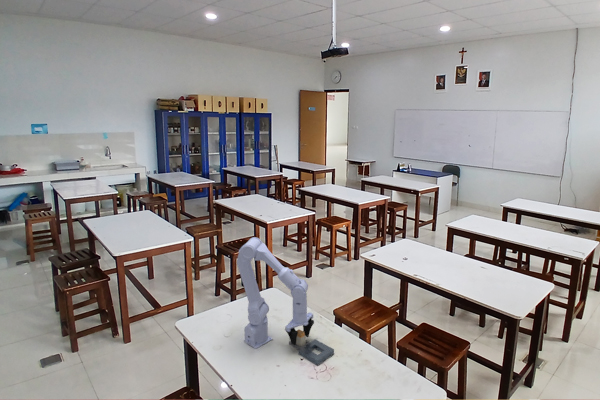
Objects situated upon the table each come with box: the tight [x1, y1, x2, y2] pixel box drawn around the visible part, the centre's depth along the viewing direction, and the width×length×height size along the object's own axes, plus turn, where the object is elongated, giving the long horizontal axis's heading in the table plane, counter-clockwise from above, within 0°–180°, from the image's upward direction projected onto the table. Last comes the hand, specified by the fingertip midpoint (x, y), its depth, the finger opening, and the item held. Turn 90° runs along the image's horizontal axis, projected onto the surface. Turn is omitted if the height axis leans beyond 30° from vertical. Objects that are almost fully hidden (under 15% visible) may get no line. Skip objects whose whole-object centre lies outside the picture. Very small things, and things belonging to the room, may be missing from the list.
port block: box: [297, 339, 335, 366], centre depth 152 cm, size 10×10×2 cm
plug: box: [296, 329, 307, 347], centre depth 158 cm, size 3×4×6 cm
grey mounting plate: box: [288, 339, 311, 351], centre depth 158 cm, size 6×7×1 cm
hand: (299, 339), depth 158 cm, fingers open, 7 cm apart
